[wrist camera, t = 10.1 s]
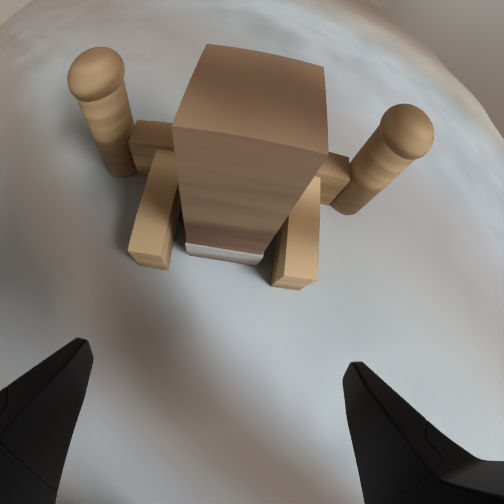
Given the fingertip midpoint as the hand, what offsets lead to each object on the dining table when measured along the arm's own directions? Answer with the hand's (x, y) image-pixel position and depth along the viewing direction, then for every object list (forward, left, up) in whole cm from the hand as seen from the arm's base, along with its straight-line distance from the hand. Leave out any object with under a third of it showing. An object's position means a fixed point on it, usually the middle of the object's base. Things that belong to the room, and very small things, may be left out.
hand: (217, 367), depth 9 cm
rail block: (+8, +2, -10) cm, 13 cm away
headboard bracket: (+9, +3, -10) cm, 14 cm away
